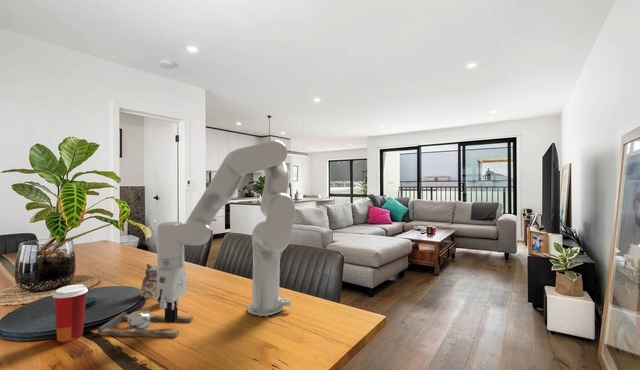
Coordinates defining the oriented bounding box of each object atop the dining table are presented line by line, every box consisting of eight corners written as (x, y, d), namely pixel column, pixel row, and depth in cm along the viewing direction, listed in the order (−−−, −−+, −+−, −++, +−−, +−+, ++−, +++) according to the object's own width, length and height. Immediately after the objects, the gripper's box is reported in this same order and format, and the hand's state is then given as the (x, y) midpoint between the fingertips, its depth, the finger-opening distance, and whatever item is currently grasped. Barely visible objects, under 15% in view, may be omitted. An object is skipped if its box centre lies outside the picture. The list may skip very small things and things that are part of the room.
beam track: (193, 319, 97) (193, 313, 97) (176, 337, 86) (176, 330, 86) (123, 318, 97) (123, 311, 97) (97, 335, 86) (98, 328, 86)
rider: (154, 322, 94) (154, 309, 94) (143, 332, 88) (143, 317, 88) (135, 322, 94) (135, 309, 94) (122, 331, 88) (123, 317, 88)
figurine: (145, 299, 112) (145, 268, 112) (137, 295, 117) (137, 264, 117) (164, 294, 118) (164, 264, 118) (156, 290, 122) (156, 261, 122)
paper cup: (85, 327, 90) (86, 282, 90) (88, 337, 85) (89, 288, 85) (50, 336, 85) (51, 288, 85) (52, 347, 79) (53, 295, 79)
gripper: (170, 269, 84) (170, 333, 84) (193, 256, 99) (193, 310, 99) (144, 269, 84) (144, 333, 84) (171, 255, 99) (171, 310, 99)
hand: (171, 320), depth 92 cm, fingers closed
